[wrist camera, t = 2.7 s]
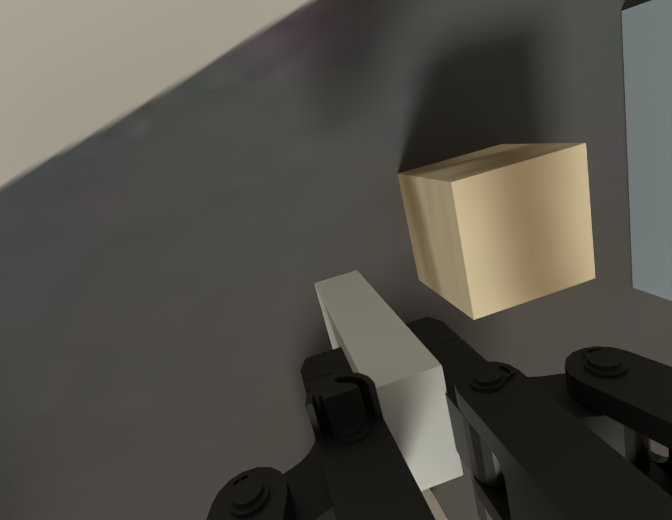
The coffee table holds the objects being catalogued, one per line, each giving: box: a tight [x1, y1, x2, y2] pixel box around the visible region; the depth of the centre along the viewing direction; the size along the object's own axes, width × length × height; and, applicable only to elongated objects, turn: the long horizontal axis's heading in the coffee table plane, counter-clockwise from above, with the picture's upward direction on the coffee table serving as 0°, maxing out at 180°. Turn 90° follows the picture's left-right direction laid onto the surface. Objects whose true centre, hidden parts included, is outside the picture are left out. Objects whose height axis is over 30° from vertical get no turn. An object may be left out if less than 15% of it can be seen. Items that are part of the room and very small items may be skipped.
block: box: [398, 143, 595, 320], centre depth 21 cm, size 6×6×6 cm
